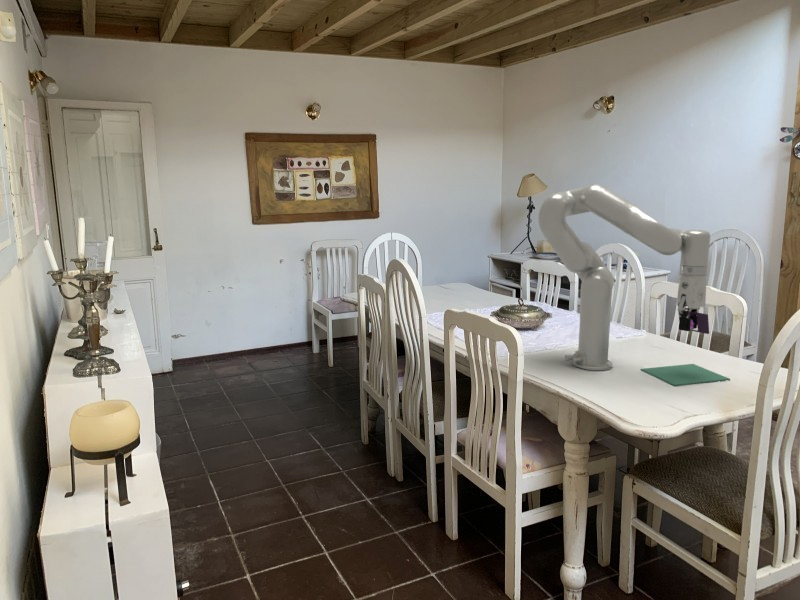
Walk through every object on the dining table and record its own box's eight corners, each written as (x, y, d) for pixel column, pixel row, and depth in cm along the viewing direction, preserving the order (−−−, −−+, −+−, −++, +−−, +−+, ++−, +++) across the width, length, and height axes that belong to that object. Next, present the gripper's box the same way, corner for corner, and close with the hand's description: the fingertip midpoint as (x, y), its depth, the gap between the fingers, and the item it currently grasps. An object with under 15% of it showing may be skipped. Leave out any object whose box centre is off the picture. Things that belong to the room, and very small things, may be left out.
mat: (674, 386, 179) (674, 384, 179) (640, 370, 195) (640, 368, 194) (730, 380, 184) (730, 378, 184) (692, 365, 199) (693, 363, 199)
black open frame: (709, 313, 182) (680, 308, 189) (700, 321, 179) (671, 315, 186) (710, 332, 184) (681, 326, 191) (702, 340, 182) (673, 334, 188)
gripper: (693, 275, 175) (687, 336, 178) (717, 269, 186) (711, 326, 189) (668, 272, 180) (663, 331, 184) (692, 266, 191) (687, 322, 195)
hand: (687, 328), depth 186 cm, fingers closed on black open frame, 4 cm apart
